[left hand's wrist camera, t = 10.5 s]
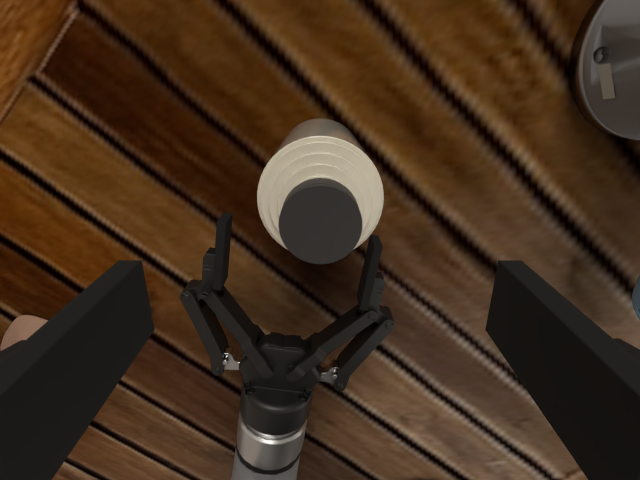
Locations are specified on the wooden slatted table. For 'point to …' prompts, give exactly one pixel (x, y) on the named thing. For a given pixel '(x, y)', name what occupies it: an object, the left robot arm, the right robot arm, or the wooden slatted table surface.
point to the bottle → (320, 172)
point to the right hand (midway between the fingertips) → (301, 228)
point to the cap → (320, 221)
